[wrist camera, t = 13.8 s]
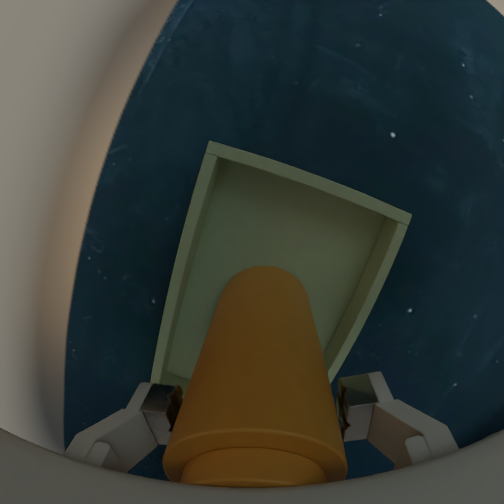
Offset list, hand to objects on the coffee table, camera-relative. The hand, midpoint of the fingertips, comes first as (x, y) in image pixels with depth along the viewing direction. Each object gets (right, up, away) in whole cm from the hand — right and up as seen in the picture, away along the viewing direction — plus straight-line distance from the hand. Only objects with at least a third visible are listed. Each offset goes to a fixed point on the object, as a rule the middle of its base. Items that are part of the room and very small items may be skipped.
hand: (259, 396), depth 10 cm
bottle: (0, +2, +7) cm, 7 cm away
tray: (0, +2, +7) cm, 8 cm away
